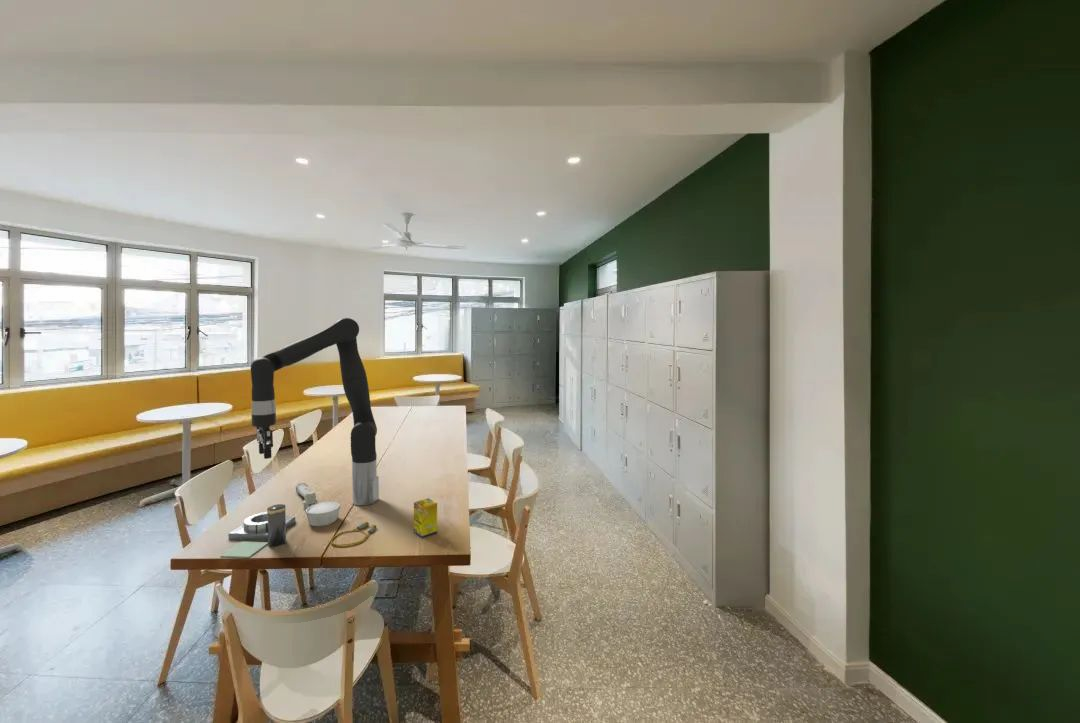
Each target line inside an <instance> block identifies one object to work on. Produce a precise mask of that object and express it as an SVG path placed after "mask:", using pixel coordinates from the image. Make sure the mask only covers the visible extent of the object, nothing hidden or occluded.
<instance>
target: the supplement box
mask: <svg viewBox="0 0 1080 723" xmlns="http://www.w3.org/2000/svg"><path fill="white" fill-rule="evenodd" d="M413 533H414V534H416V535H417V536H419V538H421V539H425V538H428V537H430V536H432V535H435V534H437V533H438V503H437V502H436V501H434V500H432V499H431V498H429V497H428V498H424V499H420V500H417V501H413Z"/></svg>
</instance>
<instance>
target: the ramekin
mask: <svg viewBox="0 0 1080 723" xmlns="http://www.w3.org/2000/svg"><path fill="white" fill-rule="evenodd" d="M340 509H341V504H340V503H338V502H335V501H322V502H319V503H318V502H317V504H314V505H312V506H310V507H308V508H306V509H305V515H306V518H307V523H308V524H309V525H310V526H312V527H324V526H329V525H331V524H333V523H335V522H336V521H337V520H338V518H339V515H340V514H339V513H340Z"/></svg>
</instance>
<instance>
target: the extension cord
mask: <svg viewBox="0 0 1080 723" xmlns="http://www.w3.org/2000/svg"><path fill="white" fill-rule="evenodd" d="M369 525H370V523H369V522H368V521H365V522H362V523H360V524H359V525H358V526H356V528H354V529H352V530H346V531H342V532H339V533H337V534H336V535H334V536H333V537H332V538H331V540H330V544H331V545H332V546H334V547H335V548H346V547H352V545H353V546H356V544H357V545H360V544H363V543H364V542H365V541H367V539H368V536H369V535H370V534H371V533H373V532H374V531H375V530H376V528H377V525H376V524H371V526H370V527H369ZM366 527H369V528H368V531H367V533H366V532H364V531H362V529H365V528H366ZM349 532H350V533H353V532H360V533H362V534H364V535H365V536H364V537H363V539H360V540H359V541H356V542H350V543H342V544H341V543H340V544H338V543H334V542H333V541H334V540H335V539H336V538H337V537H339V536H341V535H343V534H348V533H349ZM359 543H360V544H359Z"/></svg>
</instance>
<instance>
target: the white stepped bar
mask: <svg viewBox="0 0 1080 723" xmlns="http://www.w3.org/2000/svg"><path fill="white" fill-rule="evenodd" d="M295 491H296V494H299V495H301V496H302V497H303V498H304V500H303V501H302V505H303V509H304V510H306V509H307V508H308V507H310V506H312V505H314V504H318V502H319V498H317V496H316V492H315V491H311V489H310V488H309V486H308V484H306V483H305V482H301V483H299V482H298V483H297V484H296V485H295Z"/></svg>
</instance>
